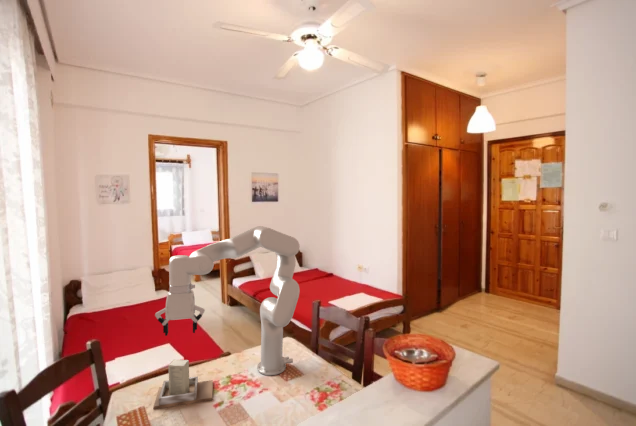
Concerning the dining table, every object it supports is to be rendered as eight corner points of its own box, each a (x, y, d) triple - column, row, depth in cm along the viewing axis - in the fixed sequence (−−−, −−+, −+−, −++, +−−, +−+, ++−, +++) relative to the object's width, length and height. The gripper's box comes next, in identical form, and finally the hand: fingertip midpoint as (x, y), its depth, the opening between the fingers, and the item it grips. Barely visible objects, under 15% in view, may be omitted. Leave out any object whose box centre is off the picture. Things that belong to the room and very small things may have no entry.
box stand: (212, 382, 135) (212, 374, 134) (212, 400, 123) (212, 391, 123) (159, 389, 129) (159, 381, 129) (153, 409, 117) (153, 399, 117)
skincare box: (189, 390, 127) (189, 359, 126) (184, 397, 123) (184, 365, 122) (174, 389, 128) (174, 358, 127) (168, 396, 123) (168, 364, 123)
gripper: (204, 284, 130) (204, 326, 131) (156, 287, 124) (157, 331, 125) (204, 289, 122) (204, 334, 123) (153, 293, 117) (153, 339, 118)
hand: (180, 332), depth 124 cm, fingers open, 9 cm apart
